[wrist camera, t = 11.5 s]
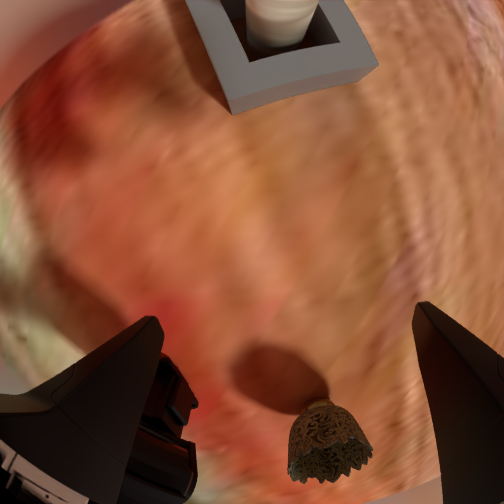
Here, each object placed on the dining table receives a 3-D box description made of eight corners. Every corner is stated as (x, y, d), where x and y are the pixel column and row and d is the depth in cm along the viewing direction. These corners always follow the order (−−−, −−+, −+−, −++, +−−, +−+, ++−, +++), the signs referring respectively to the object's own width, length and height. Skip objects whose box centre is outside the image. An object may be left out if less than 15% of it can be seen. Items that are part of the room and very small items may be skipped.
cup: (268, 421, 26) (273, 482, 18) (301, 374, 24) (316, 440, 16) (328, 431, 26) (342, 485, 19) (363, 387, 25) (390, 444, 17)
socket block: (232, 115, 18) (228, 101, 14) (190, 15, 16) (180, -11, 12) (358, 81, 17) (379, 65, 13) (307, -13, 15) (316, -39, 11)
